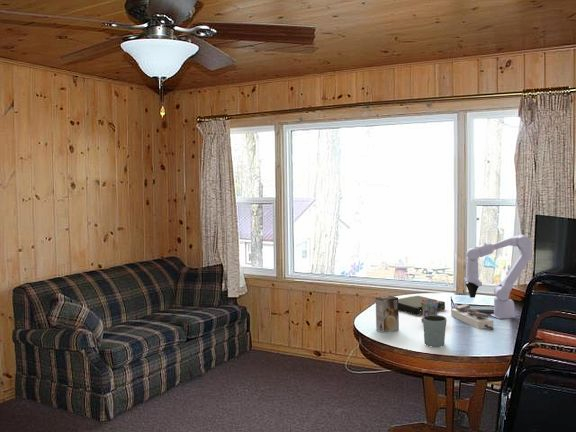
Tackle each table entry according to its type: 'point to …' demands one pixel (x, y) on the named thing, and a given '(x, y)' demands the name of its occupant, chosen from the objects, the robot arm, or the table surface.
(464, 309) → the rocker
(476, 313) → the rocker
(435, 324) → the grey tapered cup
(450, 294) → the table surface
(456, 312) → the power strip
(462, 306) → the rocker
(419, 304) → the network switch
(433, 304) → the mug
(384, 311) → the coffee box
